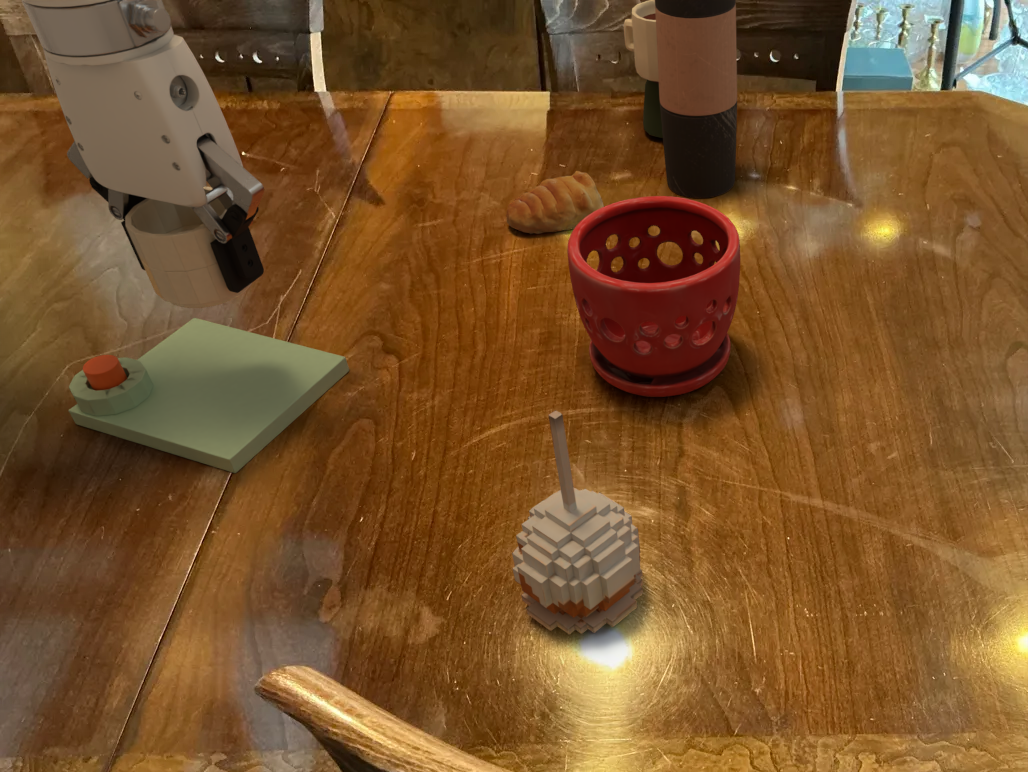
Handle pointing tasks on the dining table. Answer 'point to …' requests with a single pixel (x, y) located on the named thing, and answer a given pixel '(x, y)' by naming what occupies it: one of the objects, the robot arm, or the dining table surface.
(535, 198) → the pastry
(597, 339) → the flower pot
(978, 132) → the dining table surface
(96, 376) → the tare button
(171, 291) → the white cup
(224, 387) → the scale
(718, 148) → the travel mug
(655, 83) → the character mug
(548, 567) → the candy apple
